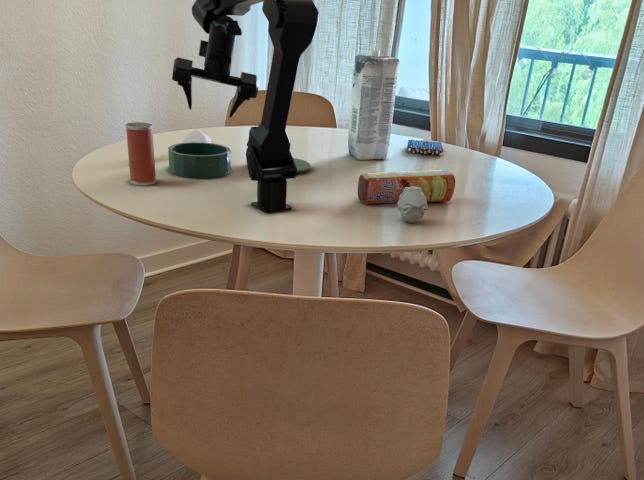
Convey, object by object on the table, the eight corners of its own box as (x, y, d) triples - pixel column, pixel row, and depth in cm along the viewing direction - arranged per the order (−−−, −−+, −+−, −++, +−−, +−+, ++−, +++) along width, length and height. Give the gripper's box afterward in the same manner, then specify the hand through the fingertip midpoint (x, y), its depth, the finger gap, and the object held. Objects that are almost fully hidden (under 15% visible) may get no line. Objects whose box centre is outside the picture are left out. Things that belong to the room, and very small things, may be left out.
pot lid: (322, 172, 163) (324, 147, 160) (269, 178, 155) (270, 152, 152) (288, 158, 174) (289, 134, 171) (237, 163, 166) (237, 139, 163)
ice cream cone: (178, 160, 165) (203, 158, 178) (196, 147, 162) (220, 146, 176) (165, 139, 164) (191, 139, 178) (183, 125, 162) (208, 126, 175)
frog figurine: (419, 216, 135) (423, 183, 132) (429, 227, 129) (435, 192, 126) (391, 216, 134) (395, 182, 131) (400, 227, 128) (405, 192, 125)
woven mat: (443, 155, 186) (444, 148, 185) (406, 152, 188) (407, 145, 187) (442, 148, 195) (443, 141, 194) (407, 145, 197) (407, 138, 196)
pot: (241, 174, 157) (241, 153, 154) (185, 181, 149) (184, 158, 147) (212, 161, 167) (212, 140, 164) (159, 166, 159) (158, 144, 157)
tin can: (160, 184, 146) (156, 126, 140) (136, 186, 143) (131, 128, 137) (150, 177, 150) (146, 121, 144) (126, 180, 147) (121, 123, 141)
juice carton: (391, 159, 179) (404, 53, 166) (357, 161, 176) (367, 52, 162) (376, 152, 186) (387, 49, 173) (343, 153, 183) (352, 48, 169)
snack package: (364, 206, 139) (367, 175, 136) (354, 198, 145) (357, 167, 141) (453, 204, 145) (458, 174, 141) (440, 196, 150) (445, 166, 147)
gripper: (263, 39, 145) (249, 103, 156) (179, 19, 140) (171, 86, 152) (264, 63, 138) (250, 128, 149) (176, 42, 133) (168, 111, 145)
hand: (210, 112), depth 149 cm, fingers open, 9 cm apart
